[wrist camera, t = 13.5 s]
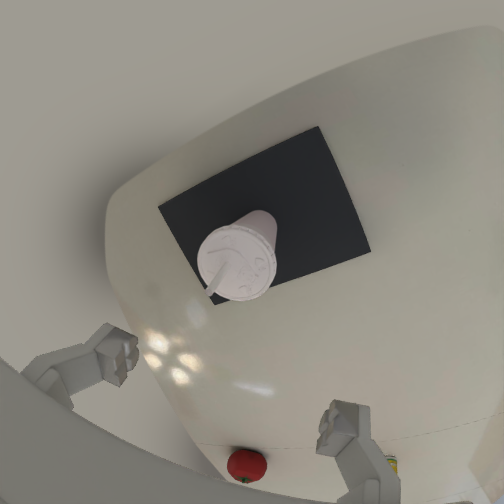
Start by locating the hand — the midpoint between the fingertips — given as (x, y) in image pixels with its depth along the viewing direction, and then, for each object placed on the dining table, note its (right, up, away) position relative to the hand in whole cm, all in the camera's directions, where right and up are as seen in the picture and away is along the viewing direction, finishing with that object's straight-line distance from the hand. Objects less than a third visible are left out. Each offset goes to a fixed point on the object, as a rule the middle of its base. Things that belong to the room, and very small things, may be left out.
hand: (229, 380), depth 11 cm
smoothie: (+2, +8, +22) cm, 23 cm away
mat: (+2, +8, +22) cm, 23 cm away
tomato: (0, -37, +43) cm, 56 cm away
